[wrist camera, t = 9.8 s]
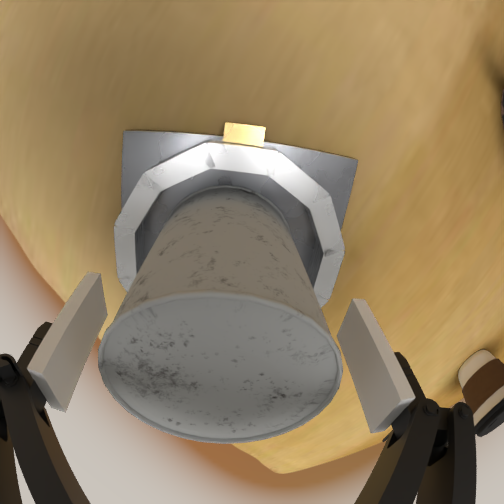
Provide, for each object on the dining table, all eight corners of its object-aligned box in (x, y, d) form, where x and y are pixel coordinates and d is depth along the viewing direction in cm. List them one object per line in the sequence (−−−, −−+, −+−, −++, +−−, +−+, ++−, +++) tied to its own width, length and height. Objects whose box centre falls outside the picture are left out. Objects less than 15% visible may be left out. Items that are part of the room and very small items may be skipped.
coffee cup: (434, 390, 35) (463, 447, 25) (469, 341, 30) (509, 401, 20) (473, 379, 36) (501, 426, 26) (505, 334, 31) (541, 382, 21)
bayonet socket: (128, 116, 17) (111, 117, 14) (356, 145, 19) (374, 151, 16) (133, 323, 25) (125, 345, 22) (302, 339, 27) (308, 362, 24)
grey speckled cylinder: (237, 156, 18) (239, 227, 7) (315, 259, 22) (375, 391, 11) (135, 239, 20) (59, 364, 9) (218, 321, 24) (211, 456, 13)
